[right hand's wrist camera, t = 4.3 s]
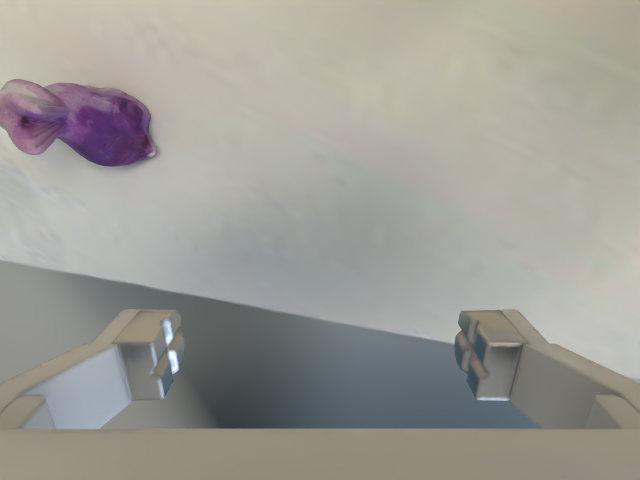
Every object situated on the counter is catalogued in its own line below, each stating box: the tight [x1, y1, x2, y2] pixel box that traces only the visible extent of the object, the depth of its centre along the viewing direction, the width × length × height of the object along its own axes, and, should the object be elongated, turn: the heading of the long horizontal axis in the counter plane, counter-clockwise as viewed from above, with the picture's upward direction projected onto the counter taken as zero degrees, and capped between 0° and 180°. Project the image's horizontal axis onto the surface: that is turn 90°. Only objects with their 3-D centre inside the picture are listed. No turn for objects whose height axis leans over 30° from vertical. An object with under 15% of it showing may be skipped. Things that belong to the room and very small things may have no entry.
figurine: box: [0, 79, 156, 166], centre depth 35 cm, size 9×10×15 cm
